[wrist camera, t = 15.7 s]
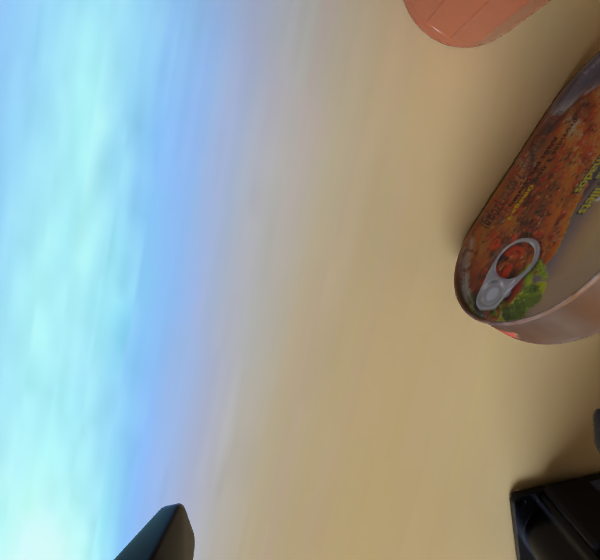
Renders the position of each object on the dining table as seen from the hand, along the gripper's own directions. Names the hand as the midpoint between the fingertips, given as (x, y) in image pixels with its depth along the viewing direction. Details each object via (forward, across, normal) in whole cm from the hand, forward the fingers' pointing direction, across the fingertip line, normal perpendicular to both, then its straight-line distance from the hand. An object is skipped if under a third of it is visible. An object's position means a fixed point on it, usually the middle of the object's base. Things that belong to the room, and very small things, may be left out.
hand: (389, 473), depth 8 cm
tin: (+13, -12, -4) cm, 18 cm away
